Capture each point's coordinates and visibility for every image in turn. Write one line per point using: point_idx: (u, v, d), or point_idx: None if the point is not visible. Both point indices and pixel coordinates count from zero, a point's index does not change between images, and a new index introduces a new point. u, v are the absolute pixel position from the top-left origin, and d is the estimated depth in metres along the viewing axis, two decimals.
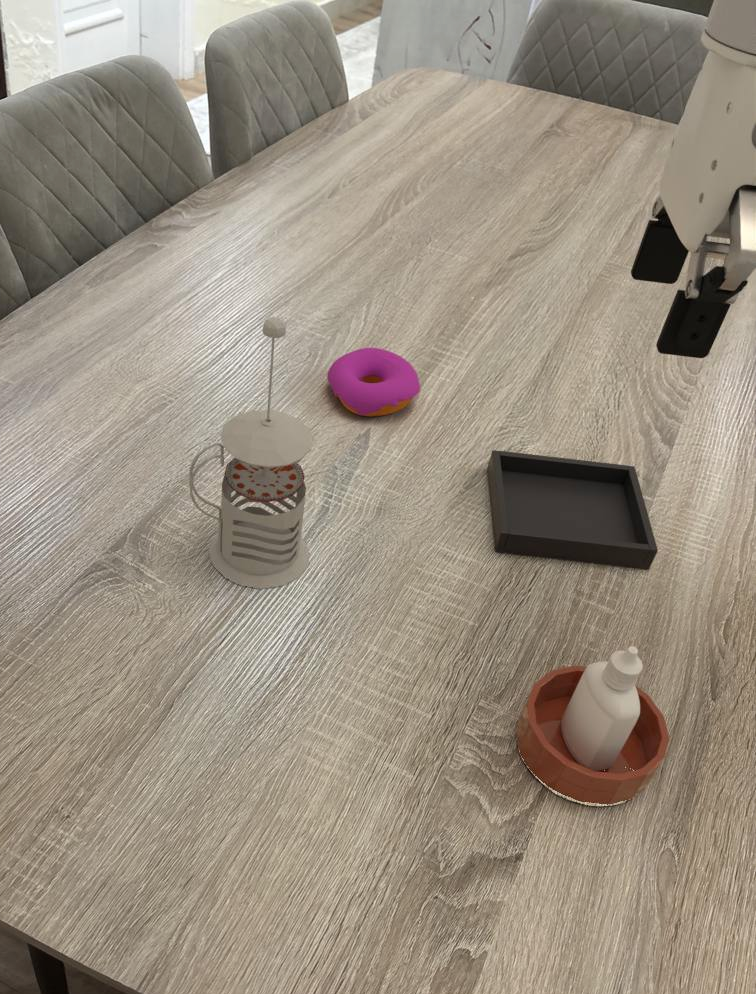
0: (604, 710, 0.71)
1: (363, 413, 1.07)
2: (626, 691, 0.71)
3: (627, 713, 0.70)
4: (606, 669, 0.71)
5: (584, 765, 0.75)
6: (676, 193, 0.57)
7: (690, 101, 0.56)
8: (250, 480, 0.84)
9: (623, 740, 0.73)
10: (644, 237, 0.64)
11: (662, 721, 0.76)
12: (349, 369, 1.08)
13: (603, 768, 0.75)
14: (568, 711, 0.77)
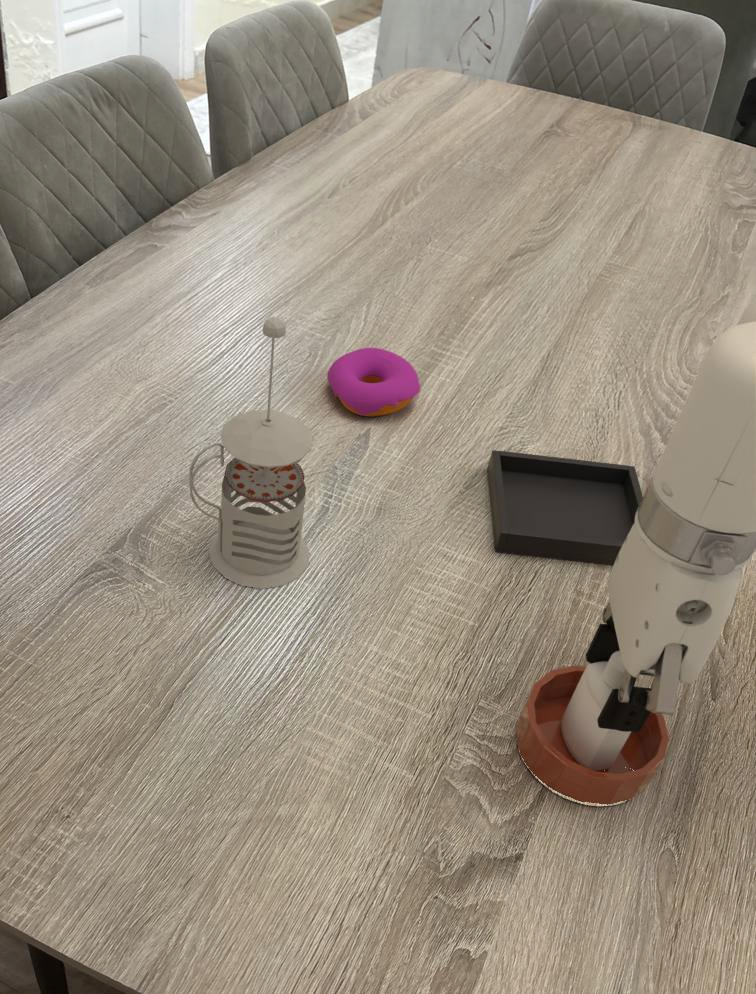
0: None
1: (363, 413, 1.07)
2: None
3: None
4: (606, 669, 0.71)
5: (584, 765, 0.75)
6: (619, 614, 0.66)
7: (630, 539, 0.66)
8: (250, 480, 0.84)
9: (623, 740, 0.73)
10: (596, 636, 0.73)
11: (662, 721, 0.76)
12: (349, 369, 1.08)
13: (603, 768, 0.75)
14: (568, 711, 0.77)
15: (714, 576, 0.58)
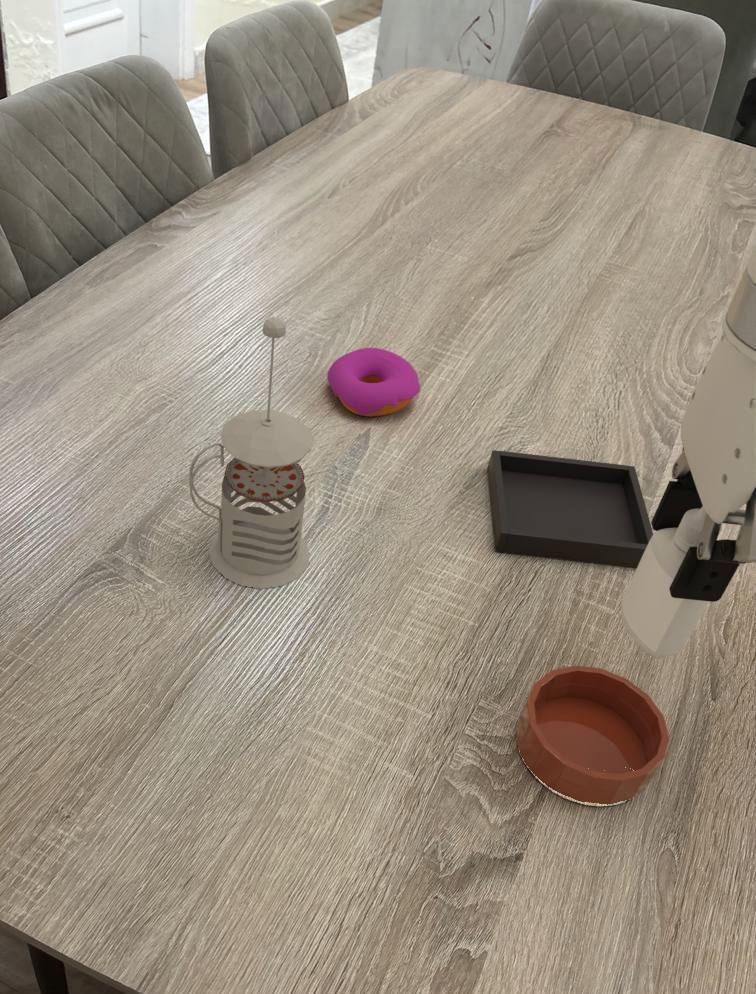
0: None
1: (363, 413, 1.07)
2: None
3: None
4: (678, 531, 0.61)
5: (650, 650, 0.66)
6: (698, 455, 0.56)
7: (711, 365, 0.56)
8: (250, 480, 0.84)
9: (697, 617, 0.63)
10: (664, 496, 0.63)
11: (662, 721, 0.76)
12: (349, 369, 1.08)
13: (672, 653, 0.65)
14: (630, 591, 0.67)
15: None
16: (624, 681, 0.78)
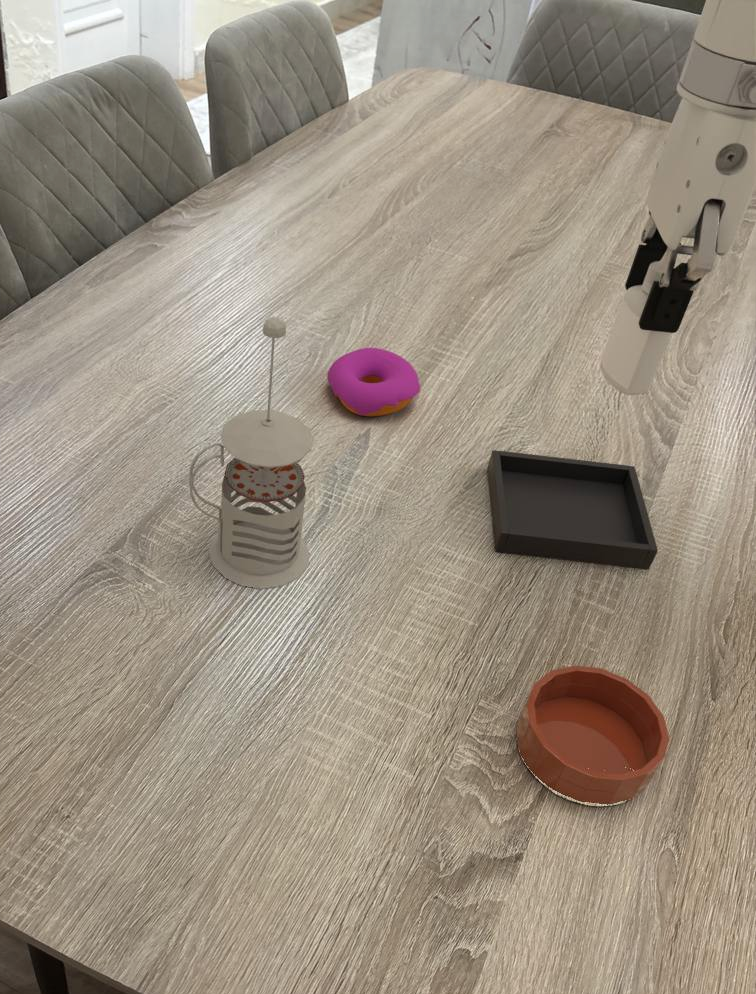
0: None
1: (363, 413, 1.07)
2: None
3: None
4: (645, 278, 0.78)
5: (623, 389, 0.82)
6: (660, 204, 0.73)
7: (670, 133, 0.72)
8: (251, 480, 0.84)
9: (660, 353, 0.80)
10: (635, 258, 0.80)
11: (662, 721, 0.76)
12: (349, 369, 1.08)
13: (641, 391, 0.82)
14: (608, 345, 0.84)
15: (750, 118, 0.65)
16: (624, 681, 0.78)
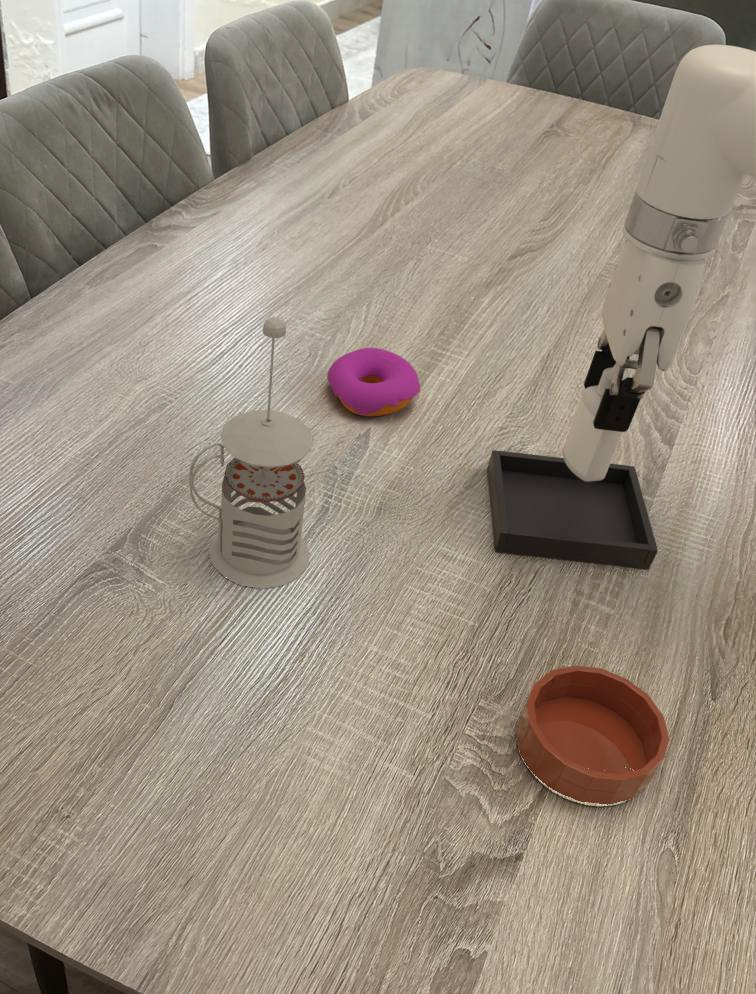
0: None
1: (363, 413, 1.07)
2: None
3: None
4: (599, 383, 0.87)
5: (582, 476, 0.92)
6: (610, 323, 0.83)
7: (619, 261, 0.82)
8: (250, 480, 0.84)
9: (614, 447, 0.89)
10: (592, 362, 0.89)
11: (662, 721, 0.76)
12: (349, 369, 1.08)
13: (597, 478, 0.92)
14: (568, 435, 0.93)
15: (684, 261, 0.75)
16: (624, 681, 0.78)
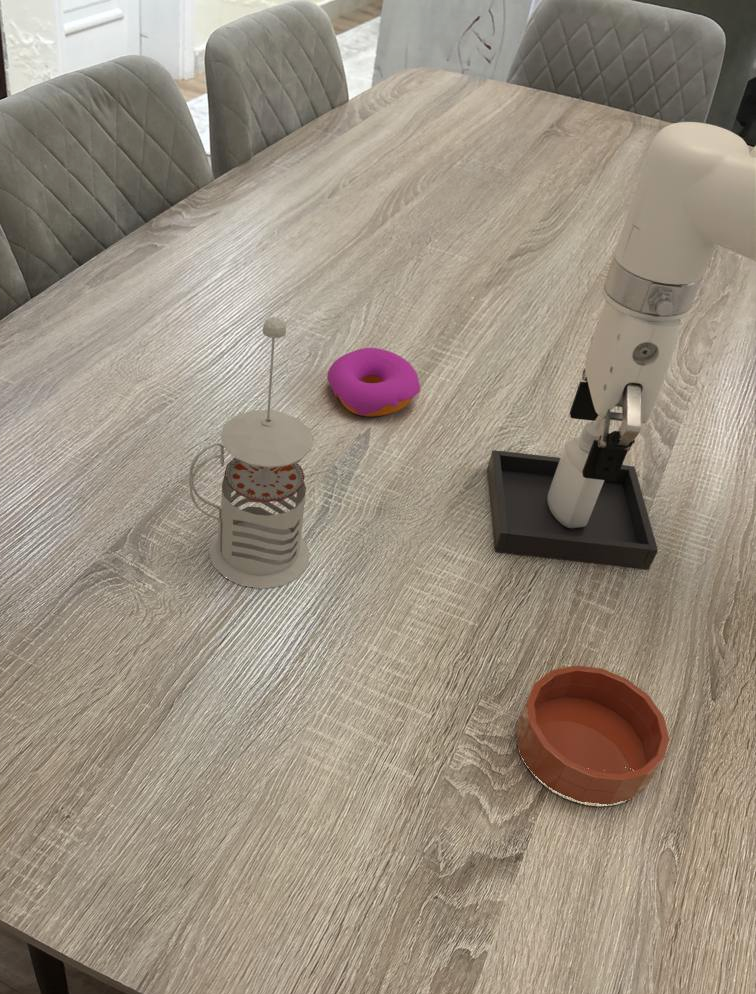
0: (579, 469, 0.92)
1: (363, 413, 1.07)
2: None
3: None
4: (581, 436, 0.92)
5: (565, 523, 0.96)
6: (592, 376, 0.87)
7: (600, 317, 0.86)
8: (250, 480, 0.84)
9: (595, 497, 0.94)
10: (577, 392, 0.94)
11: (662, 721, 0.76)
12: (349, 369, 1.08)
13: (580, 525, 0.96)
14: (552, 484, 0.98)
15: (660, 323, 0.78)
16: (624, 681, 0.78)
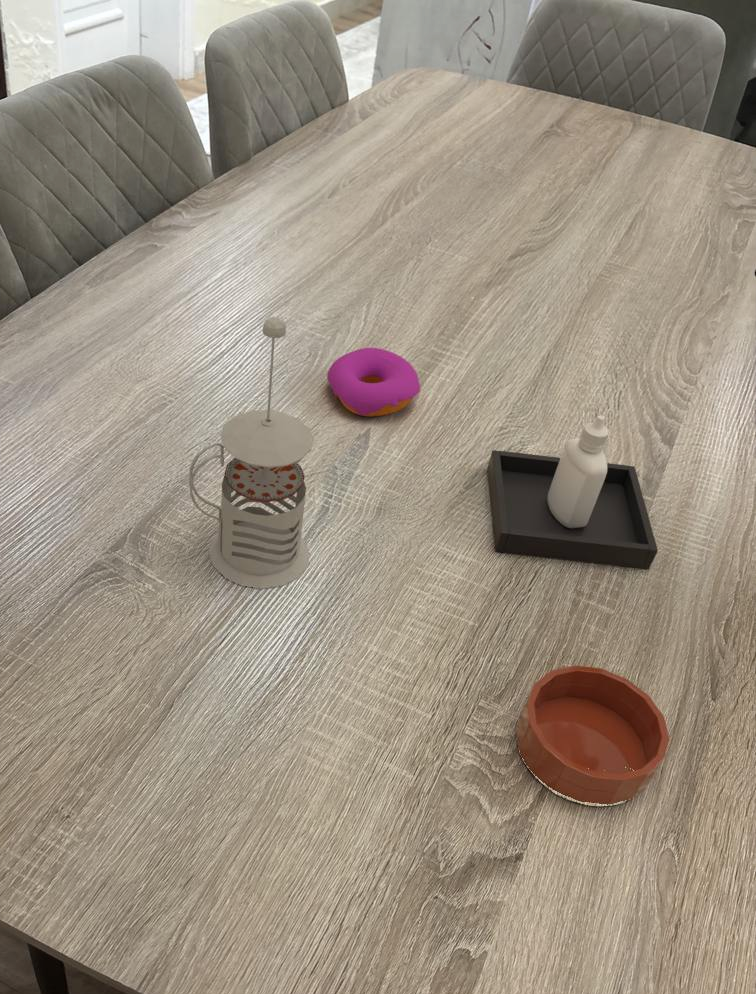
0: (579, 469, 0.92)
1: (363, 413, 1.07)
2: (596, 453, 0.92)
3: (597, 469, 0.91)
4: (581, 436, 0.92)
5: (565, 523, 0.96)
6: None
7: None
8: (250, 480, 0.84)
9: (595, 497, 0.94)
10: None
11: (662, 721, 0.76)
12: (349, 369, 1.08)
13: (580, 525, 0.96)
14: (552, 484, 0.98)
15: None
16: (624, 681, 0.78)
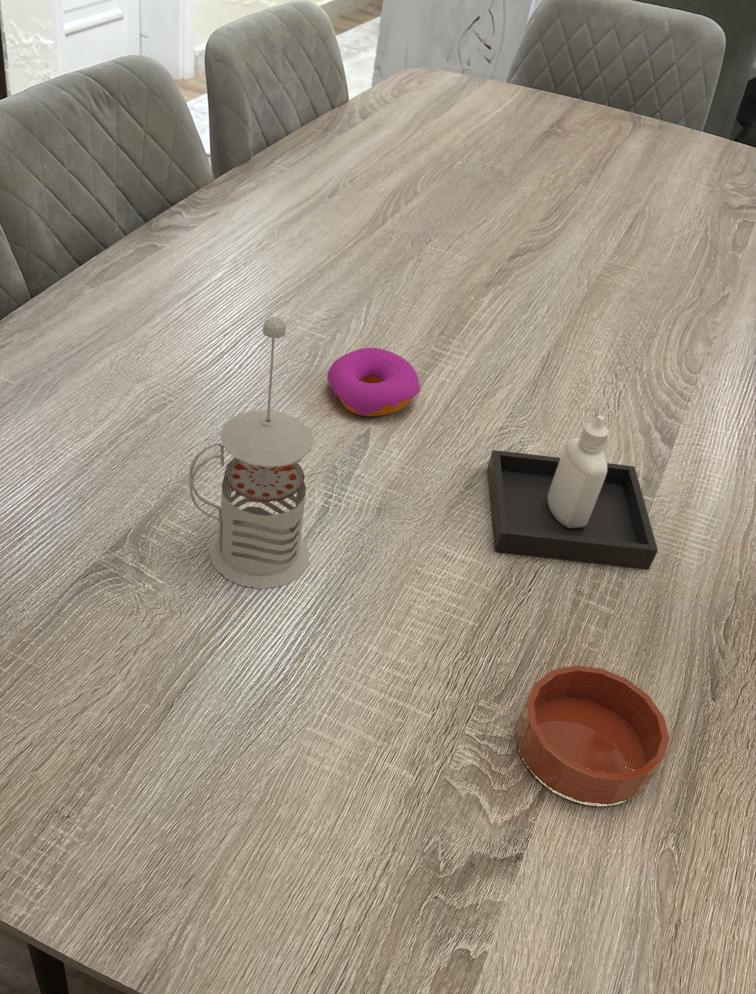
0: (579, 469, 0.92)
1: (363, 413, 1.07)
2: (596, 453, 0.92)
3: (597, 469, 0.91)
4: (581, 436, 0.92)
5: (565, 523, 0.96)
6: None
7: None
8: (250, 480, 0.84)
9: (595, 497, 0.94)
10: None
11: (662, 721, 0.76)
12: (349, 369, 1.08)
13: (580, 525, 0.96)
14: (552, 484, 0.98)
15: None
16: (624, 681, 0.78)
